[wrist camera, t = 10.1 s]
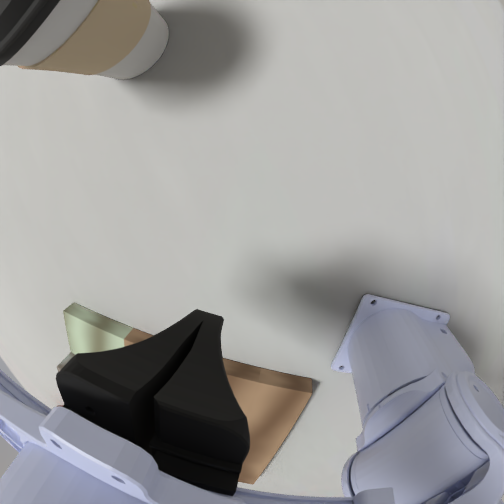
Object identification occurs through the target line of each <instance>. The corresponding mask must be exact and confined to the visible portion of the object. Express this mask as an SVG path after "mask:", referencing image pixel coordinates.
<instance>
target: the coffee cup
mask: <svg viewBox="0 0 504 504" xmlns="http://www.w3.org/2000/svg"><path fill="white" fill-rule="evenodd" d="M168 38H169V29H168V25H167V23H166V22H165V20H164V19H163V18H162V17H161V15H160V14H159V13H158V12H157V10H156V9H155V8H154V7H153V6H152V5H151V3H150V2H149V0H0V66H2V65H16V66H18V67H19V68H22V69H35V70H49V71H59V72H68V73H76V74H84V75H100V76H105V77H110V78H115V79H122V80H123V79H130V78H134V77H136V76H138V75H140V74H142V73H144V72H145V71H147V70H148V69H149V68H151V67H152V66H153V65H154V64H155V63H156V62H157V61H158V59H159V58H160V57H161V55H162V54H163V52H164V50H165V48H166V45H167V42H168Z"/></svg>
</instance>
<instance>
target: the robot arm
mask: <svg viewBox="0 0 504 504" xmlns="http://www.w3.org/2000/svg"><path fill="white" fill-rule="evenodd" d="M373 300H376V301H375V303H373V304H371V302H372V301H373ZM438 315H439V316H438ZM437 316H438V317H437ZM436 317H437V318H436ZM449 319H450V315H449V314H448V313H446V312H441V311H437V310H433V309H429V308H424V307H420V306H416V305H412V304H408V303H404V302H399V301H395V300H391V299H387V298H383V297H379V296H375V295H371V294H366V295H364V296H363V297H362V299H361V302H360V304H359V306H358V309H357V311H356V313H355V316H354V318H353V320H352V322H351V324H350V327H349V329H348V331H347V333H346V335H345V337H344V339H343V341H342V343H341V346H340V348H339V350H338V352H337V354H336V356H335V358H334V360H333V361H332V363H331V368H332V370H334V371H340V372H346V373H352V375H353V380H354V384H355V389H356V394H357V400H358V405H359V410H360V416H361V421H362V427H363V431H362V433H361V434H360V435H359V436H358V437H357V438H356V443H357V451H358V452H356V453H355V454H353V455H352V456H351V457H350V458H349V459H348V460H347V462H346V463H345V465H344V467H343V471H342V478H341V482H342V490H343V494H344V496H345V497H308V496H294V495H284V494H275V493H268V492H261V491H255V490H249V489H243V488H238V487H237V484H238V479H239V474H240V473H241V470H242V465H243V462H244V460H245V458H246V456H247V455H248V453H249V450H250V433H249V427H248V421H247V417H246V415H245V414H244V412H243V411H242V409H241V407H240V406H239V404H238V402H237V400H236V398H235V396H234V394H233V391H232V389H231V386H230V384H229V381H228V378H227V375H226V371H225V367H224V363H223V358H222V351H221V330H222V325H223V321H224V319H223V317H222V316H218V315H214V314H211V313H208V312H204V311H201V310H197V309H196V310H194V311H193V312H191V313H190V314H189V315H187V316H186V317H184V318H183V319H181V320H180V321H178V322H177V323H175V324H174V325H172V326H170V327H169V328H167V329H165V330H164V331H162V332H160V333H158V334H156V335H154V336H152V337H150V338H148V339H145V340H143V341H140V342H138V343H135V344H131V345H128V346H125V347H121V348H117V349H112V350H107V351H101V352H91V353H77V354H76V355H75V356H73V357H72V358H71V359H70V360H69V361H68V362H67V363H66V365H65V366H64V367H63V368H62V369H61V370H60V371H59V372H58V373H57V375H56V381H57V385H58V388H59V391H60V393H61V396H62V399H63V401H64V406H63V407H62V406H58V407H54V408H53V409H50V408H49V407H47V406H46V405H44V404H43V403H42V402H40V401H39V400H37V399H36V398H35V397H33V396H32V395H31V394H29V393H28V392H27V391H26V390H24V389H23V388H22V387H20V386H19V385H18V384H17V383H16V382H14V381H13V380H12V379H11V378H10V377H8V376H7V375H6V374H5V373H4V372H3V371H1V369H0V435H1V436H2V437H3V438H4V439H5V440H6V441H7V442H8V443H9V444H10V445H11V446H12V447H13V448H14V449H16V450H17V451H18V452H19V454H18V455H17V457H16V458H15V459H14V461H13V462H12V463H11V465H10V466H9V467H8V469H7V470H6V472H5V473H4V474H3V476H2V477H1V479H0V504H504V503H503V501H502V499H501V498H502V496H503V495H504V408H503V406H502V404H501V403H500V401H499V400H498V398H497V397H496V396H495V394H494V393H493V392H492V390H491V389H490V388H489V387H488V386H487V385H486V384H485V383H484V382H483V381H482V380H481V379H480V378H479V377H477V376H476V375H475V369H474V365H473V363H472V361H471V359H470V358H469V356H468V355H467V353H466V352H465V350H464V349H463V348H462V346H461V345H460V343H459V342H458V341H457V339H456V338H455V336H454V335H453V334H452V332H451V331H450V330H449V328H448V327H447V326H446V325H447V323H448V321H449ZM340 366H343V367H340Z"/></svg>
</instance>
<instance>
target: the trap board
mask: <svg viewBox="0 0 504 504" xmlns="http://www.w3.org/2000/svg"><path fill="white" fill-rule="evenodd" d="M63 313H64V319H65V325H66V330H67V336H68V341H69V345H70V350H71V353H70V354H69V355H68V356H67V357H66V358H65V359H64V360H63V361H62V362H61V363H60V364H59V365H58V366H57V369H58V372H59V371H60V370H61V369H62V368H63V367H64V366H65V365H66V363H67V362H68V361H69V360H70V359H71V358H72V357H73V356H75V355H76V354H77V353H91V352H101V351H107V350H112V349H117V348H121V347H125V346H128V345H131V344H135V343H138V342H140V341H143V340H145V339H148V338H150V337H152V336H153V335H150V334H148V333H145V332H142V331H140V330H137V329H134V328H132V327H129V326H127V325H124V324H122V323H119V322H117V321H114V320H112V319H110V318H107V317H105V316H103V315H100V314H98V313H96V312H93V311H91V310H89V309H87V308H85V307H82V306H80V305H78V304H76V303H73V304H71V305H70V306H69V307H68V308H66V309H65V310H64V311H63ZM223 363H224V367H225V371H226V375H227V378H228V381H229V384H230V386H231V389H232V391H233V394H234V396H235V398H236V400H237V402H238V404H239V406H240V407H241V409H242V411H243V412H244V414H245V415H246V417H247V421H248V427H249V433H250V450H249V453H248V455H247V456H246V458H245V460H244V462H243V465H242V470H241V473H240V474H239V479H238V482H243V483H248V484H254V483H255V481H256V480H257V479H258V477H259V476H260V475H261V473H262V472H263V470H264V469H265V468H266V466H267V465H268V463H269V462H270V460H271V459H272V458H273V456H274V455H275V453H276V452H277V450H278V449H279V447H280V446H281V444H282V443H283V441H284V440H285V438H286V436H287V435H288V433H289V432H290V430H291V429H292V427H293V425H294V424H295V422H296V420H297V419H298V417H299V415H300V414H301V412H302V410H303V409H304V407H305V405H306V404H307V402H308V400H309V398H310V397H311V395H312V379H311V378H306V377H301V376H296V375H291V374H286V373H281V372H277V371H272V370H268V369H264V368H259V367H255V366H251V365H247V364H243V363H239V362H236V361H232V360H228V359H225V358H223Z"/></svg>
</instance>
